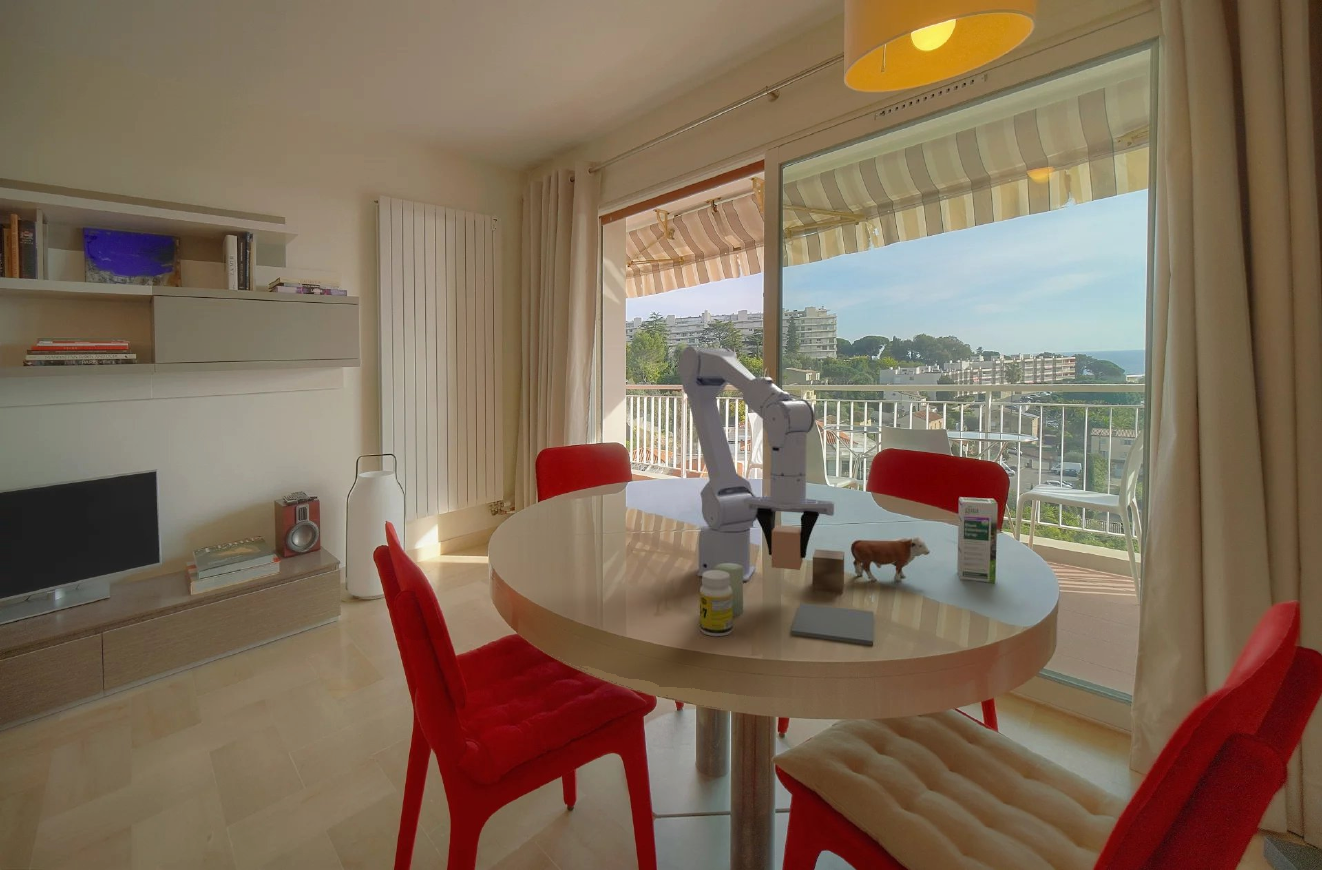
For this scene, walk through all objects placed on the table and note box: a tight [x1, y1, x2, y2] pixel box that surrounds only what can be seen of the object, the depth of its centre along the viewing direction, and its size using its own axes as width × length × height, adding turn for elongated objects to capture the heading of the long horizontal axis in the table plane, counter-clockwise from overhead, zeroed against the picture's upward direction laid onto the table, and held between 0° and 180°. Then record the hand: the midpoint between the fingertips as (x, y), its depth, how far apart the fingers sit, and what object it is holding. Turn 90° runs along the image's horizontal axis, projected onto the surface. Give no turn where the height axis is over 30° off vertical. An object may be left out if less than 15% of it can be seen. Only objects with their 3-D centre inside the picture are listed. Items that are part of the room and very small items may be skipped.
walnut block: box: [811, 549, 845, 595], centre depth 102 cm, size 5×5×6 cm
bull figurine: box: [850, 536, 931, 582], centre depth 106 cm, size 4×13×8 cm, turn 78°
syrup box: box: [956, 496, 999, 584], centre depth 107 cm, size 6×6×14 cm
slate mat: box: [790, 603, 874, 646], centre depth 86 cm, size 11×11×1 cm
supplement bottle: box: [699, 570, 734, 637], centre depth 85 cm, size 5×5×8 cm
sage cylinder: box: [715, 563, 744, 617], centre depth 92 cm, size 4×4×7 cm
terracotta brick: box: [771, 524, 804, 571], centre depth 97 cm, size 4×4×6 cm
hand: (787, 554), depth 97 cm, fingers closed on terracotta brick, 4 cm apart
